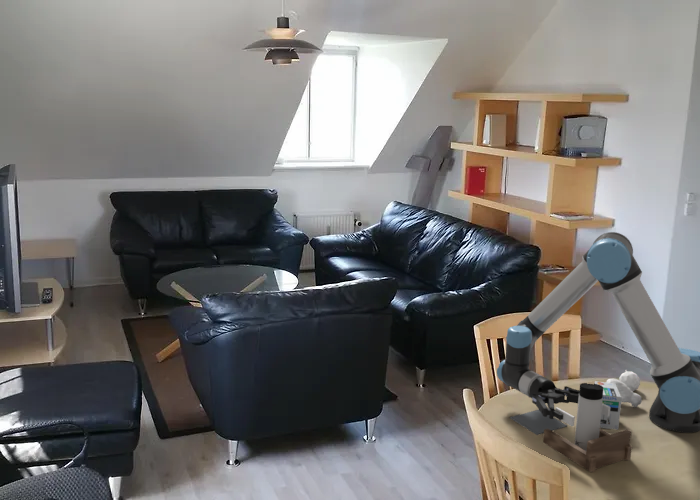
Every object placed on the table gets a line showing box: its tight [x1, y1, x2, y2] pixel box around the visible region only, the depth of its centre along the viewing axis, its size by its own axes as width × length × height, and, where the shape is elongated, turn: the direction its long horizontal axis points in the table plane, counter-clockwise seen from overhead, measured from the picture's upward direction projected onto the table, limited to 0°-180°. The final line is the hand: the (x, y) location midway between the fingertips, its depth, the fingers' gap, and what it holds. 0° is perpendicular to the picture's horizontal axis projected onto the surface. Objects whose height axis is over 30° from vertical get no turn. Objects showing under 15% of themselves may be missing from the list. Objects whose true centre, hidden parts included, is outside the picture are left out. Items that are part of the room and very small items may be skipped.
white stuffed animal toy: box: [605, 378, 643, 409], centre depth 225 cm, size 6×8×12 cm
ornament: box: [618, 369, 641, 392], centre depth 236 cm, size 6×7×7 cm
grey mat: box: [509, 409, 569, 436], centre depth 213 cm, size 12×12×1 cm
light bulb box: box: [594, 380, 622, 431], centre depth 213 cm, size 11×7×11 cm, turn 168°
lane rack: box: [542, 428, 633, 473], centre depth 195 cm, size 18×15×8 cm
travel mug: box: [574, 382, 603, 451], centre depth 194 cm, size 6×7×20 cm
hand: (591, 416), depth 193 cm, fingers open, 13 cm apart
